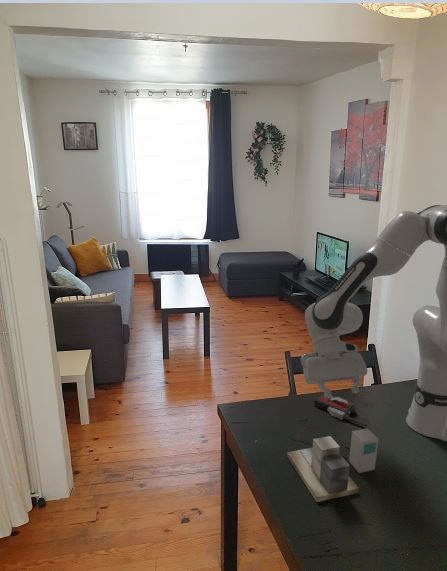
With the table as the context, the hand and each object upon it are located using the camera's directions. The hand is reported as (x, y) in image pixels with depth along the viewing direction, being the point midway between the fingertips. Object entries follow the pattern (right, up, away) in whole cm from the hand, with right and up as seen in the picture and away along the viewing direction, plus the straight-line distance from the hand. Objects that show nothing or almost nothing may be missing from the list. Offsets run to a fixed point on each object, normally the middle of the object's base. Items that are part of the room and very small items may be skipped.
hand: (342, 394), depth 127 cm
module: (+3, -18, -7) cm, 20 cm away
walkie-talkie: (+5, -12, +19) cm, 23 cm away
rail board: (-9, -19, -11) cm, 24 cm away
